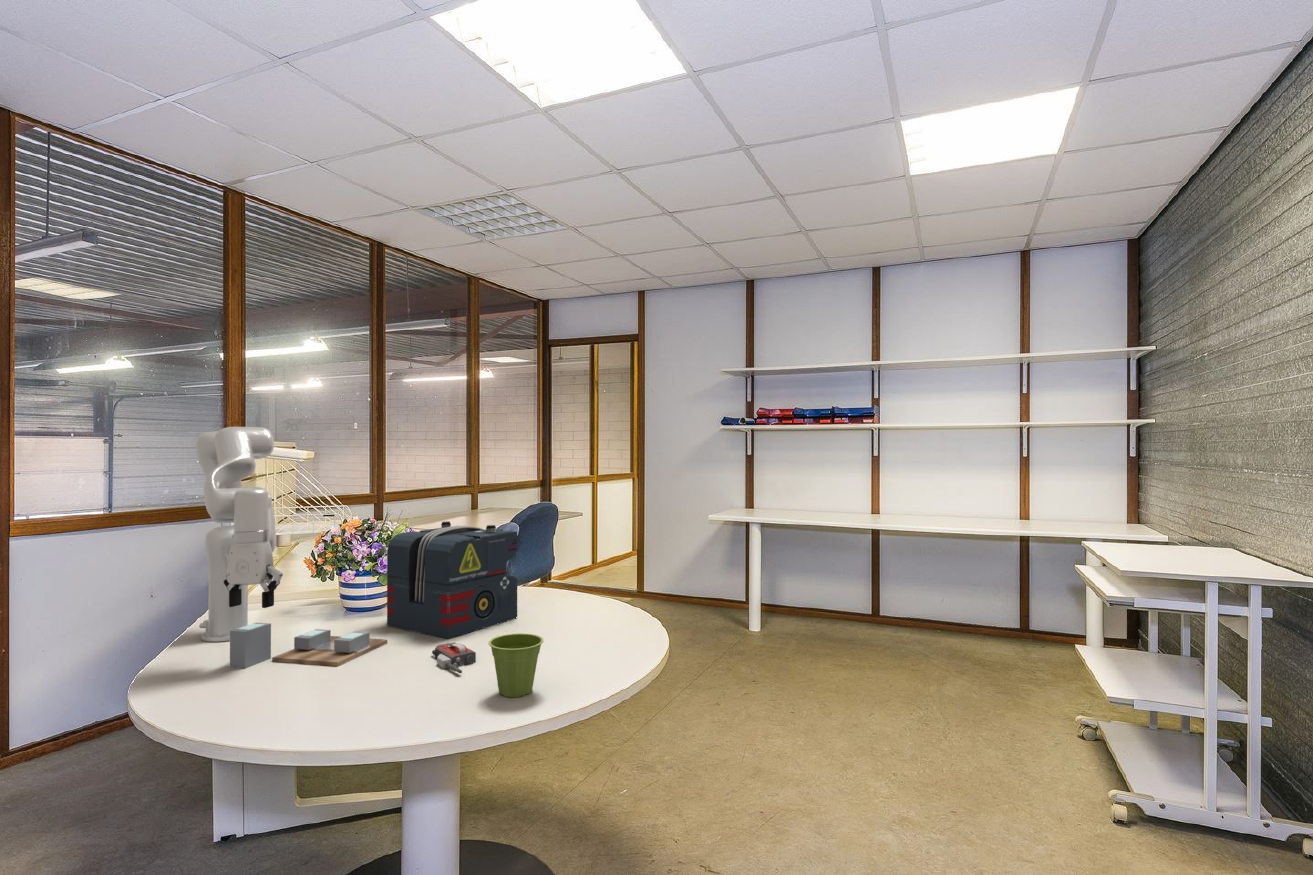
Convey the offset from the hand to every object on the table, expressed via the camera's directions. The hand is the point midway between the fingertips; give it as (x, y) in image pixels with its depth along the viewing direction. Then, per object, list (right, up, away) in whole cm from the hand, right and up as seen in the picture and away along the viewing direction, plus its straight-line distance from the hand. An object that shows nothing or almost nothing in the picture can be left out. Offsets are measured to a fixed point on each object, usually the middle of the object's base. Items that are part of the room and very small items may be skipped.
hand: (251, 606), depth 166 cm
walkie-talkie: (+52, -15, -1) cm, 54 cm away
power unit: (+39, -15, +39) cm, 57 cm away
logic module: (0, -14, 0) cm, 14 cm away
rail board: (+16, -14, +9) cm, 23 cm away
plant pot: (+71, -14, -21) cm, 75 cm away
